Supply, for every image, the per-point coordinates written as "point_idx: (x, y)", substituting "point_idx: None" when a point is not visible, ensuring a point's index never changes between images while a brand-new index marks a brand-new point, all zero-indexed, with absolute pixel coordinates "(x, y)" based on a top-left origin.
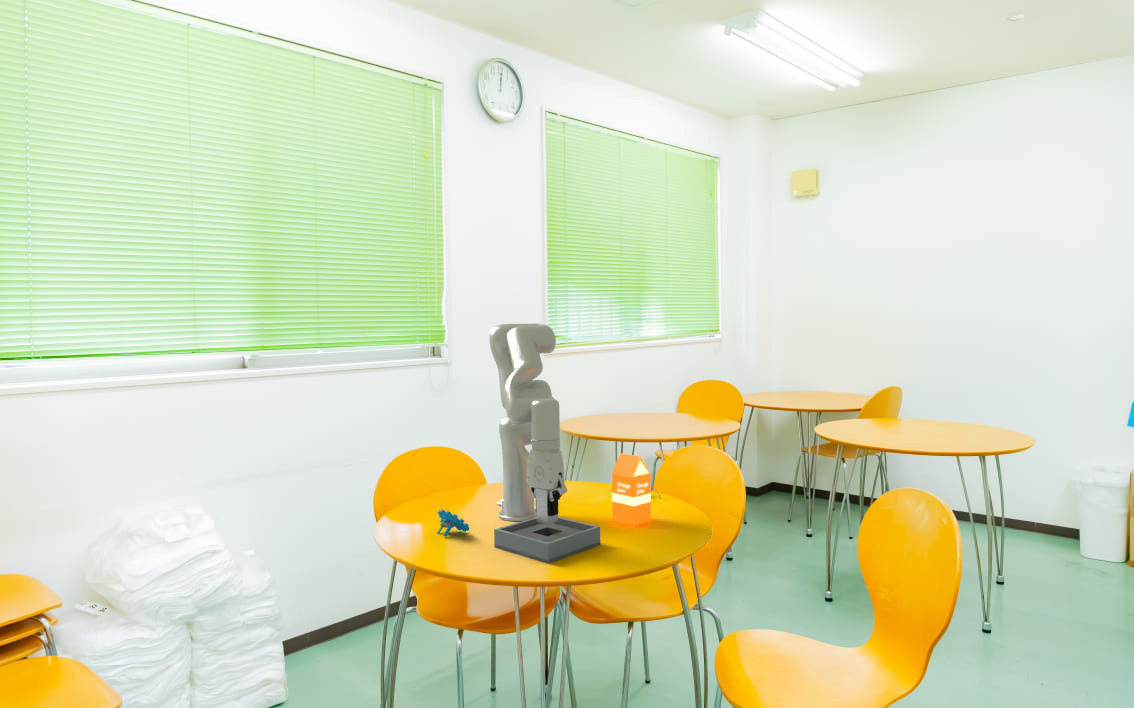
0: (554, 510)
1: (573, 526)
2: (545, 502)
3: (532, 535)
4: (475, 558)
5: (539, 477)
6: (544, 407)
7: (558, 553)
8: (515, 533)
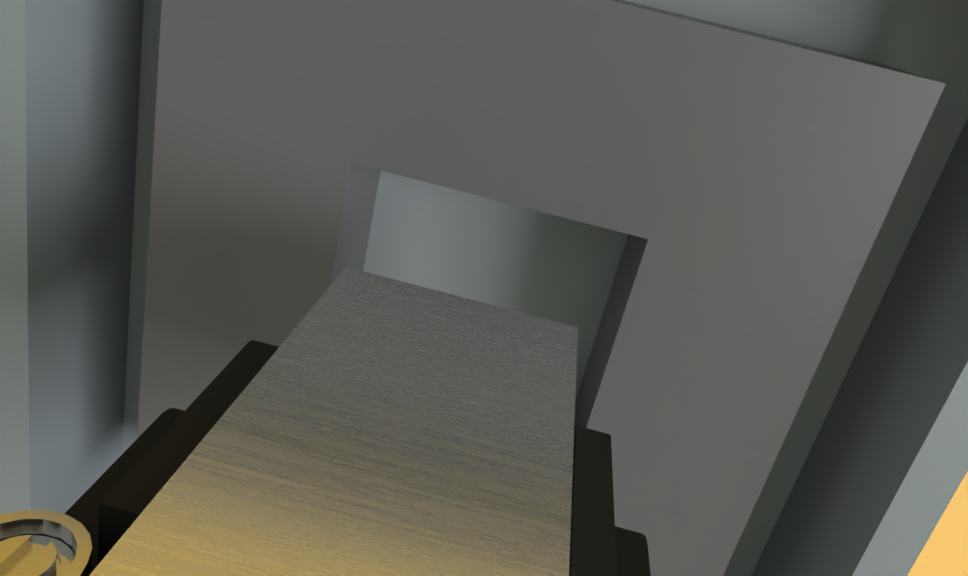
0: (154, 432)
1: None
2: (235, 481)
3: (554, 109)
4: None
5: None
6: None
7: None
8: (844, 86)
